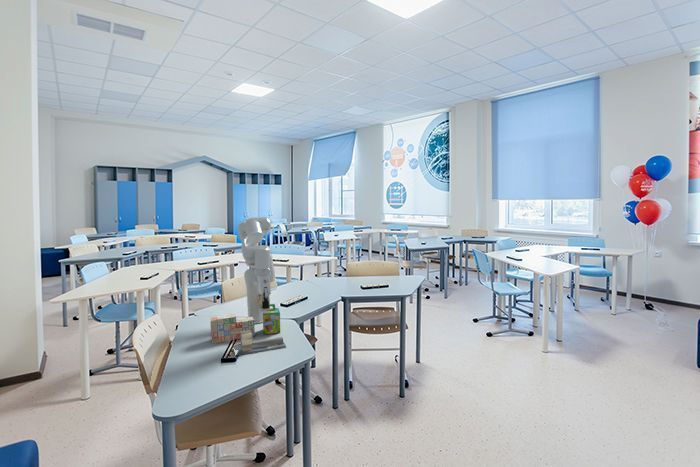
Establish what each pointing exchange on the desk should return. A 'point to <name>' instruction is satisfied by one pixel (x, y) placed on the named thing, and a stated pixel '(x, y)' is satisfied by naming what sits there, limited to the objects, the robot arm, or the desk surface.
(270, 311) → the chalk box
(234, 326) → the stack of blocks
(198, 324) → the desk surface
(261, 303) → the block
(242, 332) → the rail fixture
